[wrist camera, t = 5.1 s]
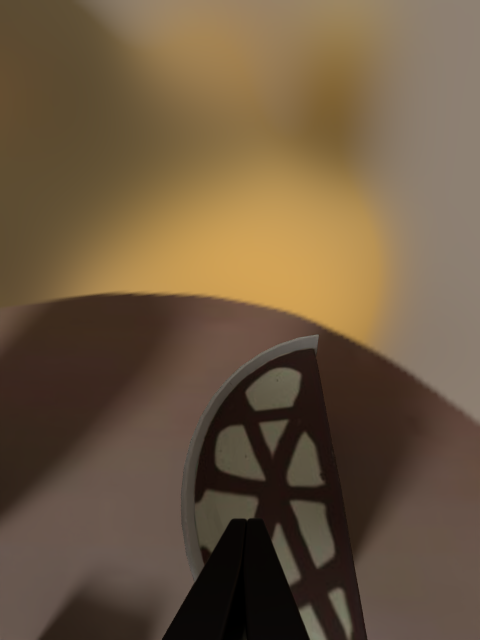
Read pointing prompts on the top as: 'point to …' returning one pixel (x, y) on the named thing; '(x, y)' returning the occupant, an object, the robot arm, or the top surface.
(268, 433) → the food container
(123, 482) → the top surface
